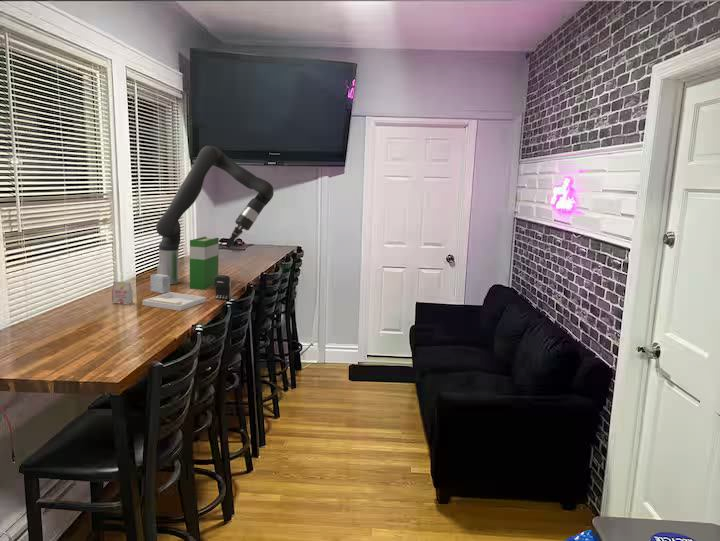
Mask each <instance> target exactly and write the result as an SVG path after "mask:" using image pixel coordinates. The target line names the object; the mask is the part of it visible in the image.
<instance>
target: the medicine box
mask: <svg viewBox="0 0 720 541" xmlns="http://www.w3.org/2000/svg"><path fill="white" fill-rule="evenodd" d="M149 280H150V292H151V291H153V292H152V293H159V294H166V293H169V292H171V288H170V287H171V284H170V276H167V275H162V274H157V273H154V274H150V278H149Z"/></svg>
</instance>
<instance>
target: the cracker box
mask: <svg viewBox="0 0 720 541" xmlns="http://www.w3.org/2000/svg"><path fill="white" fill-rule="evenodd" d="M151 301H154V302H161V303H168V304H174V305H182V301H179V300H171V299H164V298H154V299H151Z"/></svg>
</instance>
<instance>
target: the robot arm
mask: <svg viewBox="0 0 720 541" xmlns="http://www.w3.org/2000/svg"><path fill="white" fill-rule="evenodd" d="M212 167H216V168H219V169H221V170H223V171H224V172H226V173H227V174H229V175H230V176H231V178H233V179H234V180H236V181H237V183H238V182H239V183H240V184H241V185H243V186H244V187H246V188H247V189H249V190H253V191H255V192H256V193H257V194H256V196H254V197H253V198H251V199H250V201H249V202H248V203H247V205H246V206H245V207H244V208H243V210H242V211H241V212H240V214H239V215H238V217H237V218H236V219H235V221H234V222H235V224H236V225H237V226H235V227H234V229H233V231H232V233H231V235H230V237H229V238H228V240H227V241H226V244H225V247H226V248H228V249H229V248H231V247H232V246H233V244H234V243H235V242H236V240H238V239H239V237H240V236H241V235H242V234H243V230H245V231H249V230H250V229H251V227H252V226H253V224H254V223H255V222H256V220H257V218H258V216H259V215H260V214H261V212H262V211H263V209H264V208H265V207H266V206H267V205H268V203H270V201H271V200H272V199H273V197H274V187H273V185H272V184H271V183H270V182H268V181H267V180H265V179H263V178H261V177H259V176H257V175H255V174H253V173H252V172H250V171H248V170H247V169H245V168H244V167H243V166H240V165H239V164H238V163H236V162H235V161H234V160H232V159H231V158H229V157H228V156H227V155H226V154H225V153H224V152H223V151H221V149H219V148H218V147H216V146H214V145H205V146H204V147H202V148H201V149H200V150H199V152H198V155H197V157H196V159H195V161H194V163H193V166H192V167H191V169H190V171H189V172H188V174H187V176H186V177H185V178H184V180H183V182H182V183H181V185H180V186H179V189H178V190H177V192H176V194H175V195H174V197H173V199H172V200H171V202H170V204H169V206H168V208H167V209H166V211H165V212H164V213H163V214H162V216H161V217H160V218H159V219H158V221H157V222H156V226H155V227H156V229H155V230H156V232H157V234H158V235H159V236H161V237H162V239H161V240H160V242H159V243H158V244H159V245H158V264H157V265H156V266H157V267H156V268H157V270H156V271H157V273H156V274H162V275H167V276H170V285H176V284H179V282H180V281H179V278H180V277H179V276H180V275H179V273H180V272H179V271H180V270H179V268H180V267H179V256H180V255H179V251H180V249H179V246H180V244H181V224H180V221H179V220H180V219H181V217H182V216H183V214H184V213H185V212H186V211H188V210H189V209H190V207H192V206H193V204H194V203H195V202H196V200H197V198H199V195H200V193H201V191H202V189H203V185H204V181H205V178H206V176H207V174H208V172H209V170H210V169H211V168H212Z"/></svg>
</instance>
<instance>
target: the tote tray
mask: <svg viewBox="0 0 720 541" xmlns="http://www.w3.org/2000/svg"><path fill="white" fill-rule="evenodd" d="M154 298H164V299H171V300H179V301H182V305H174V304H168V303H161V302H154V301H151V299H154ZM206 301H207V296H200V295H193V294H186V293H180V292H172V291H170V292H169V293H162V294H159V295H156V296H153V297H149V298H146V299H143V300H142V306H144V305H145V307H152V308H157V309H158V308H159V309H165V310H171V311H172V310H174V311H179V312H180V311H184V310H187V309H190V308H192V307H194V306H197V305H200V304H203V303H206Z"/></svg>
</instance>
